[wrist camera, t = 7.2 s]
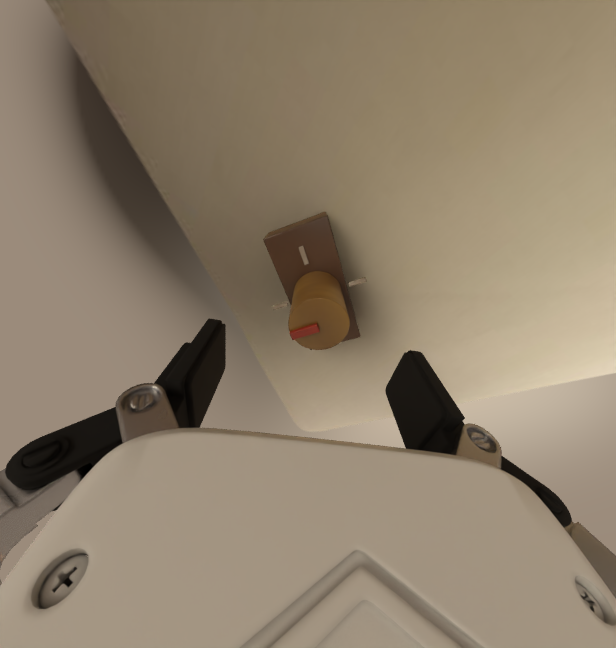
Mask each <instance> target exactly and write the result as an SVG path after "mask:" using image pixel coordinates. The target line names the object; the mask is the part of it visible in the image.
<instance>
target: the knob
mask: <svg viewBox="0 0 616 648" xmlns="http://www.w3.org/2000/svg"><path fill="white" fill-rule="evenodd" d="M288 326H289V331H290V336H291V338H292V340H295V341H296V342H297V343H299V344H300V345H302V346H304V347H306V348H309V349H314V350H323V349H328V348H331V347H333V346H336V345H337V344H339V343H340V342H341V341H342V340H343V339H344V338H345V336H346V335H347V333H348V330H349V326H350V321H349V316H348V312H347V309H346V305H345V301H344V298H343V294H342V290H341V287H340V284H339V282H338V281H337V280H336V278H335V277H333V276H332V275H330V274H329V273H326V272H322V271H314V272H310V273H307V274H305V275H304V276H302V277H301V278H300V279H299V280H298V281H297V283H296V285H295V288H294V292H293V298H292V304H291V310H290V316H289V322H288Z"/></svg>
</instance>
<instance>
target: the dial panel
mask: <svg viewBox="0 0 616 648" xmlns="http://www.w3.org/2000/svg"><path fill="white" fill-rule="evenodd" d="M263 240H264V243H265V245H266V247H267V250H268V252H269V254H270V257H271V259H272V261H273V264H274V266H275V268H276V271H277V273H278V275H279V278H280V280H281V282H282V285H283V287H284V289H285V292H286V294H287V296H288V299H289V301H290V304H292V298H293V292H294V288H295V285H296V283H297V281H298V280H299V279H300V278H301V277H302V276H304V275H305V274H307V273H310V272H314V271H322V272H326V273H329V274H330V275H332V276H333V277H335V278H336V280H337V281H338V282H339V284H340V287H341V290H342V294H343V298H344V301H345V305H346V309H347V312H348V316H349V321H350V326H349V330H348V333H347V335H346V336H345V338H344V339H343V340H342V341H341V342H343V341H347V340H350V339H354V338H358V337H360V333H359V329H358V325H357V322H356V318H355V314H354V311H353V307H352V303H351V300H350V296H349V292H348V289H347V285H346V281H345V278H344V274H343V270H342V267H341V263H340V259H339V256H338V252H337V248H336V245H335V241H334V238H333V234H332V230H331V227H330V223H329V219H328V216H327V214H326V212H323V213H320V214H318V215H315V216H312V217H310V218H307V219H304V220H302V221H299V222H296V223H294V224H291V225H288V226H286V227H283V228H280V229H278V230H275V231H272V232H270V233H268V234H267V236H266V237H265V238H264V239H263ZM364 282H367V281H366V277H364V278H361V279H357V280H354V281H351V282H348V283H349V286H350V287H351V286H354V285H357V284H360V283H364ZM285 306H288V303H287V302H283V303H280V304H277V305H274V306H272V309H273V310H276V309H279V308H282V307H285ZM310 350H312V349H310Z"/></svg>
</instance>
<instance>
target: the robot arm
mask: <svg viewBox="0 0 616 648" xmlns="http://www.w3.org/2000/svg"><path fill="white" fill-rule="evenodd" d="M224 369H225V324H222V321H220V320H215V319H208V320H207V321H206V323H205V324H204V326H203V327H202V329H201V330H200V331H199V333H198V334H197V336H196V337H195V338H194V340H193V341H192V343H185V344H184V345H183V346H182V347H181V348H180V350H179V351H178V353H177V354H176V355H175V356H174V358H173V359H172V360H171V362H170V363H169V364H168V365H167V367H166V368H165V370H164V371H163V372H162V373H161V375H160V376H159V377H158V379H157V380H156V381H155V383H154V384H153V383H144V384H140V385H137V386H134V387H132V388H130V389H128V390H127V391H125V392H123V393H122V395H121V396H119V398H118V400H117V401H116V407H114V408H112V409H109V410H107V411H104V412H102V413H100V414H97V415H94V416H92V417H89V418H87V419H85V420H82V421H80V422H77V423H75V424H72V425H70V426H67V427H65V428H62V429H60V430H57V431H55V432H53V433H50V434H47V435H45V436H42V437H40V438H38V439H36V440H34V441H32V442H30V443H29V444H27V445H26V446H24V447H23V448H21V449H20V450H19V451H18V452H17V453H16V454H15V455H14V456H13V457H12V458H11V460H10V461H9V463H8V464H7V466H6V468H5V469H4V470H2V471H0V568H1V565H2V562H3V560H4V558H5V557H6V556H7V554H8V553H9V551H10V550H11V549H12V548H13V547H14V546H15V545H16V544H17V543H18V542H19V541H20V540H21V539H22V538H23V537H24V536H26V535H27V534H28V533H30V532H31V531H32V530H33V529H34V528H36V527H37V526H38V525H37V524H36V523H37V522H38V521H39V520H41V519H42V518H43V517H44V516H46V515H47V514H48V513H50V512H51V511H55V510H57V511H56V512H55V513H54V514H53V516H52V517H51V518H50V520H49V521H48V522H47V524H46V525H45V526H44V528H43V529H42V530H41V532H40V533H39V535H38V536H37V537H36V539H35V540H34V541H33V542H32V544H31V545H30V546H29V548H28V549H27V550H26V552H25V553H24V554H23V556H22V557H21V559H20V560H19V561H18V562H17V564H16V565H15V566H14V568H13V569H12V570H11V572H10V573H9V574H8V576H7V577H6V578H5V580H4V581H3V583H2V582H1V581H0V648H616V556H615V555H614V554H613V553H612V552H611V551H610V550H609V549H608V548H607V547H606V546H604V545H603V544H602V543H601V542H600V541H599V540H598V539H597V538H595V537H594V536H593V535H592V534H591V533H590V532H589V531H588V530H587V529H586V528H584V527H583V526H582V525H581V524H580V523H579V522H577V523H575V524H574V523H573V522H572V519H571V515H570V513H569V511H568V509H567V507H566V506H565V505H564V503H563V502H562V501H561V500H560V498H559V497H558V496H557V495H556V494H555V493H554V492H552V491H551V490H550V489H548V488H547V487H546V486H544V485H543V484H541V483H540V482H539V481H537V480H536V479H534V478H533V477H531V476H530V475H529V474H527V473H526V472H524V471H523V470H521V469H520V468H518V467H517V466H516V465H514V464H513V463H511V462H510V461H508V460H507V459H505V458H504V457H503V456H501V454H502V452H501V447H500V445H499V443H498V442H497V440H496V439H495V438H494V437H493V436H492V435H491V434H490V433H489V432H488V431H486V430H485V429H483V428H482V427H480V426H478V425H475V424H464V423H463V420H464V419H465V417H464V416H463V414H462V413H461V411H460V410H459V408H458V407H457V405H456V404H455V402H454V401H453V399H452V398H451V396H450V395H449V393H448V392H447V390H446V389H445V387H444V386H443V384H442V383H441V381H440V380H439V378H438V377H437V375H436V374H435V372H434V371H433V369H432V368H431V366H430V364H429V363H428V361H427V360H426V358H425V357H424V355H423V354H422V353H421V352H418V351H411V350H410V351H408V352H406V353H404V355H403V356H402V358H401V360H400V362H399V364H398V366H397V368H396V370H395V371H394V373H393V375H392V377H391V379H390V381H389V383H388V384H387V386H386V395H387V398H388V401H389V404H390V406H391V409H392V412H393V414H394V417H395V420H396V422H397V425H398V428H399V431H400V434H401V436H402V439H403V442H404V444H405V447H406V449H404V448H395V447H387V446H379V445H370V444H361V443H352V442H344V441H334V440H325V439H316V438H307V437H298V436H288V435H279V434H269V433H260V432H250V431H238V430H227V429H216V428H200V425H201V423H202V421H203V418H204V416H205V414H206V411H207V409H208V407H209V405H210V402H211V400H212V398H213V395H214V393H215V391H216V389H217V386H218V384H219V382H220V379H221V377H222V375H223V372H224ZM85 555H87V556H88V557H87V556H85Z"/></svg>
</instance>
